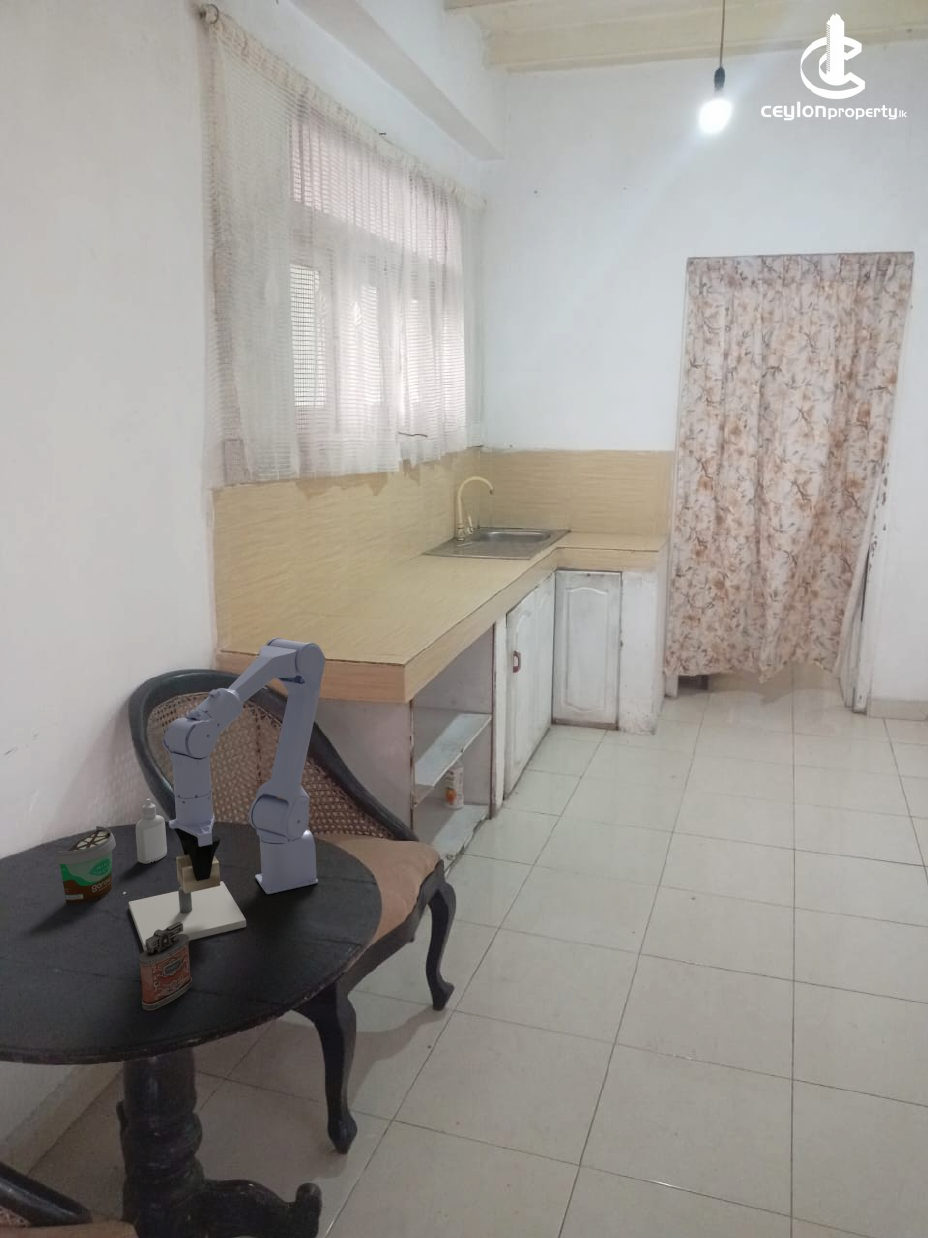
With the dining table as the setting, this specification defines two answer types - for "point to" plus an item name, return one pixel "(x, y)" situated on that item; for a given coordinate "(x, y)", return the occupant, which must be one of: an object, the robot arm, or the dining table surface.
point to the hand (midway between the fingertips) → (198, 871)
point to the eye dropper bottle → (150, 835)
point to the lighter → (165, 967)
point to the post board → (188, 913)
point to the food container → (88, 867)
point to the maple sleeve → (188, 878)
